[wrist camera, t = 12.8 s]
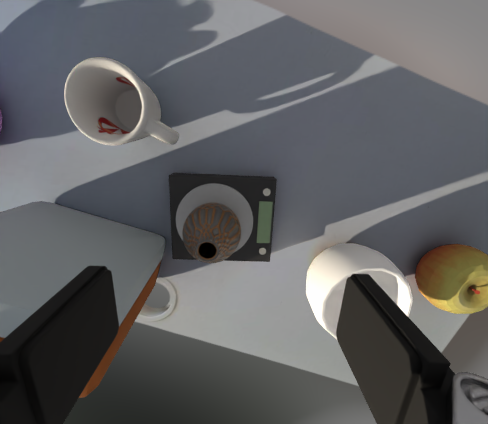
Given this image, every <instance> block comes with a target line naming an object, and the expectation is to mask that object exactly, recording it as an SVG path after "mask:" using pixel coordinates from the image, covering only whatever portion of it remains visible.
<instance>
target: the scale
mask: <svg viewBox="0 0 488 424" xmlns="http://www.w3.org/2000/svg"><path fill="white" fill-rule="evenodd" d="M276 181H277V180H276V179H275V178H274V177H263V176H239V175H214V174H189V173H173V174H171V175H169V189H170V211H171V233H172V255H173V259H192V260H197V259H195V258H194V257H193V256H192V255H191V254H190V253H189V252H188V251H187V249H186V247H185V245H184V241H183V226H184V223H185V220H186V218H187V217H188V215H189V214H190V213H191V212H192V211H193V210H194V209H195V208H196V207H198V206H200V205H202V204H205V203H211V202H214V203H220V204H223V205H225V206H227V207H229V208H230V209H231V210H232V211H233V212H234V213H235V214H236V216H237V217H238V219H239V222H240V226H241V238H240V242H239V244H238V247H237V248H236V250H235V251H234V252H233V254H232V255H231V256H229V257H228V258H227V259H225V260H229V261H266V262H270V253H271V241H272V229H273V217H274V205H275V193H276Z"/></svg>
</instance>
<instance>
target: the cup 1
mask: <svg viewBox="0 0 488 424" xmlns="http://www.w3.org/2000/svg"><path fill="white" fill-rule="evenodd" d="M64 98H65V104H66V108H67V111H68V113H69V116H70V118H71V119H72V121H73V123H74V124H75V125H76V127H77V128H78V129H79V130H80V131H81V132H82V133H83V134H85V135H86V136H87V137H89V138H90V139H92V140H94V141H96V142H99V143H102V144H105V145H122V144H126V143H129V142H133V141H136V140H139V139H142V138H145V137H147V136H149V135H151V136H153V137H155V138H157V139H158V140H160V141H162V142H165V143H168V144H175V143H176V142H177V140H178V138H179V134H178V133H177V132H176V131H175V130H173V129H172V128H170V127H169V126H167V125H165V124H164V123H162V122H161V121H160V120H161V107H160V104H159V101H158V99H157V97H156V95H155V94H154V92H153V91H152V90H151V89H150V88H149V87H148V86H147V85H146V84H145V83H144V82H143V81H142V80H141V79H140V78H139V77H138V76H137V75H136V74H135V73H134V72H133V71H132V70H131V69H129V68H128V67H127V66H125V65H124V64H122V63H120V62H118V61H116V60H113V59H110V58H105V57H94V58H89V59H86V60H84V61H82V62H80V63H79V64H78V65H76V66H75V67H74V68H73V70H72V71H71V72H70V74H69V76H68V78H67V81H66V84H65V90H64Z"/></svg>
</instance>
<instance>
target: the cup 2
mask: <svg viewBox="0 0 488 424" xmlns="http://www.w3.org/2000/svg"><path fill="white" fill-rule="evenodd" d="M352 274H369V275H370V276H371V277H372V278H373V279H374V281H375V282H376V283H377V284H378V285H379V286H380V287H381V288H382V289H383V290H384V291H385V293H386V294H387V295H388V296H389V297H390V298H391V299H392V300H393V301H394V302H395V303H396V304H397V306H398V307H399V308H400V309H401V310H402V311H403V312H404V313H405V314H406V315H407V316H409V315H410V310H411V306H412V302H413V297H412V293H411V289H410V285H409V283H408V281H407V280H406V278H405V276H404V275H403V273H402V272H401V271H400V270H399V269H398V268H397V267H396V266H395V265H394V263H393V262H392V261H390V260H389V259H388V258H387V257H385V256H384V255H383V254H382V253H380V252H378V251H376V250H373V249H371V248H368V247H366V246H363V245H359V244H355V243H345V244H337V245H335V246H332V247H330V248H327V249H325V250H324V251H323V252H321V253H320V254H319V255H318V256H317V257H316V258H314V260H313V262H312V263H311V265H310V267H309V269H308V271H307V281H306V295H307V298H308V300H309V303H310V305H311V308H312V310H313V312H314V315H315V317H316V319H317V321H318V322H319V323H320V324H321V325H322V326H323V327H324V328H325V330H327V331H328V332H329V333H330V334H331V335H332V336H333V337H335V338H336V339H337V336H336V329H337V324H338V319H339V314H340V309H341V304H342V299H343V295H344V290H345V285H346V280H347V278H348V277H351V275H352Z"/></svg>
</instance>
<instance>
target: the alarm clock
mask: <svg viewBox="0 0 488 424" xmlns="http://www.w3.org/2000/svg"><path fill="white" fill-rule="evenodd" d="M165 246H166V242H165V239H164V237H162V236H160V235H158V234H155V233H152V232H148V231H145V230H141V229H138V228H135V227H131V226H128V225H125V224H121V223H118V222H115V221H111V220H108V219H104V218H101V217H98V216H94V215H91V214H88V213H84V212H81V211H77V210H74V209H71V208H67V207H64V206H61V205H57V204H54V203H50V202H43V201H39V202H32V203H29V204H26V205H22V206H19V207H16V208H13V209H10V210H6V211H3V212H0V342H1V341H2V340H3V339H4V338H6V337H7V336H8V335H9V334H10V333H11V332H12V331H14V330H15V329H16V328H17V327H18V326H19V325H21V324H22V323H23V322H24V321H25V320H26V319H27V318H29V317H30V316H31V315H32V314H33V313H34V312H35V311H37V310H38V309H39V308H40V307H41V306H42V305H44V304H45V303H46V302H47V301H48V300H49V299H50V298H52V297H53V296H54V295H55V294H56V293H57V292H58V291H60V290H61V289H62V288H63V287H64V286H65V285H67V284H68V283H69V282H70V281H71V280H72V279H73V278H75V277H76V276H77V275H78V274H79V273H80V272H81V271H83V270H84V269H85V268H86V267H87V266H106V267H107V269H108V270H111V272H112V278H113V285H114V293H115V300H116V307H117V314H118V321H119V330H118V334H117V336H116V338H115V339H114V341H113V342H112V344H111V346H110V347H109V349H108V351H107V352H106V354H105V356H104V357H103V359H102V360H101V362H100V364H99V365H98V367H97V369H96V370H95V372H94V374H93V375H92V377H91V378H90V380H89V382H88V383H87V385H86V387H85V388H84V390H83V392H82V393H81V395H80V396H79V398H81V397H86V396H87V395H88V394H89V393H90V392H91V391H93V390H94V389H95V388H96V387H97V386H98V385H99V383H100V382H101V380H102V378H103V376H104V374H105V373H106V371H107V369H108V367H109V365H110V364H111V362H112V360H113V358H114V356H115V355H116V353H117V351H118V349H119V347H120V346H121V344H122V342H123V341H124V339H125V337H126V335H127V334H128V332H129V330H130V328H131V326H132V325H133V323H134V321H135V319H136V318H137V316H138V314H139V312H140V310H141V309H142V307H143V305H144V303H145V301H146V300H147V297H148V296H149V294H150V293H151V291H152V289H153V287H154V286H155V282H156V279H157V275H158V271H159V268H160V264H161V259H162V257H163V253H164V250H165Z"/></svg>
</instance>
